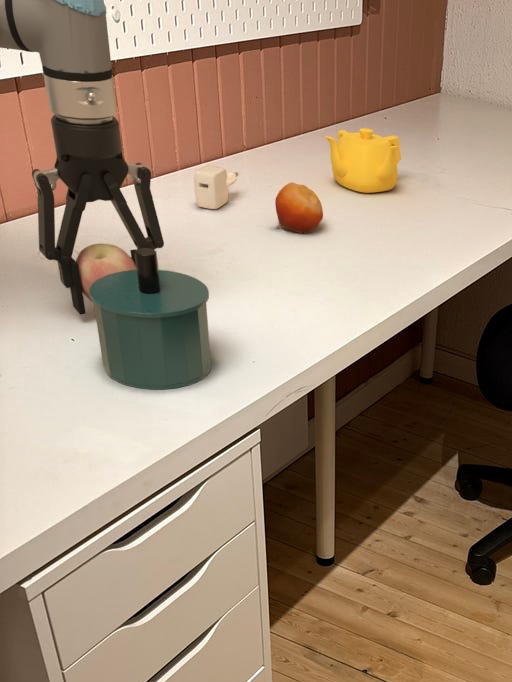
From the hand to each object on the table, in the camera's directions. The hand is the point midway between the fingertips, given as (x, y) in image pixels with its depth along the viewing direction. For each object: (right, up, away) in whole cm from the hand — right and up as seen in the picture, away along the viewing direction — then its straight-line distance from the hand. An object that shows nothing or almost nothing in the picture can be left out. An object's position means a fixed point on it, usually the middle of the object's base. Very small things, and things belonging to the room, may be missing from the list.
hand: (111, 305), depth 127 cm
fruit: (+18, +25, +35) cm, 47 cm away
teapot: (+27, +43, +57) cm, 76 cm away
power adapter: (+3, +33, +41) cm, 53 cm away
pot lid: (+10, -4, -14) cm, 18 cm away
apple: (0, 0, 0) cm, 0 cm away
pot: (+9, -10, -8) cm, 16 cm away
